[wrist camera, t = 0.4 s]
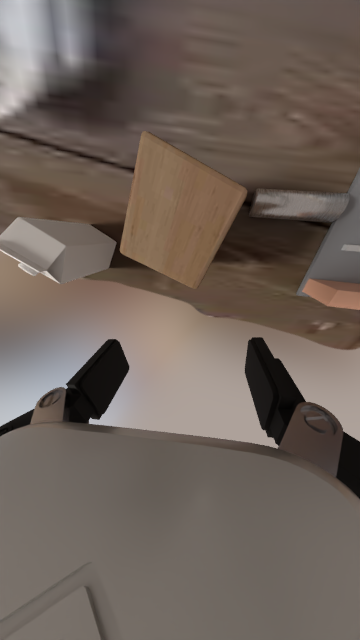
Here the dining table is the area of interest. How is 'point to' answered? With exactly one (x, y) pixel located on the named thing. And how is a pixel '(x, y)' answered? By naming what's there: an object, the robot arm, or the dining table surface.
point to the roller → (298, 205)
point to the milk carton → (57, 248)
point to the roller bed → (338, 259)
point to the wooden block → (177, 211)
